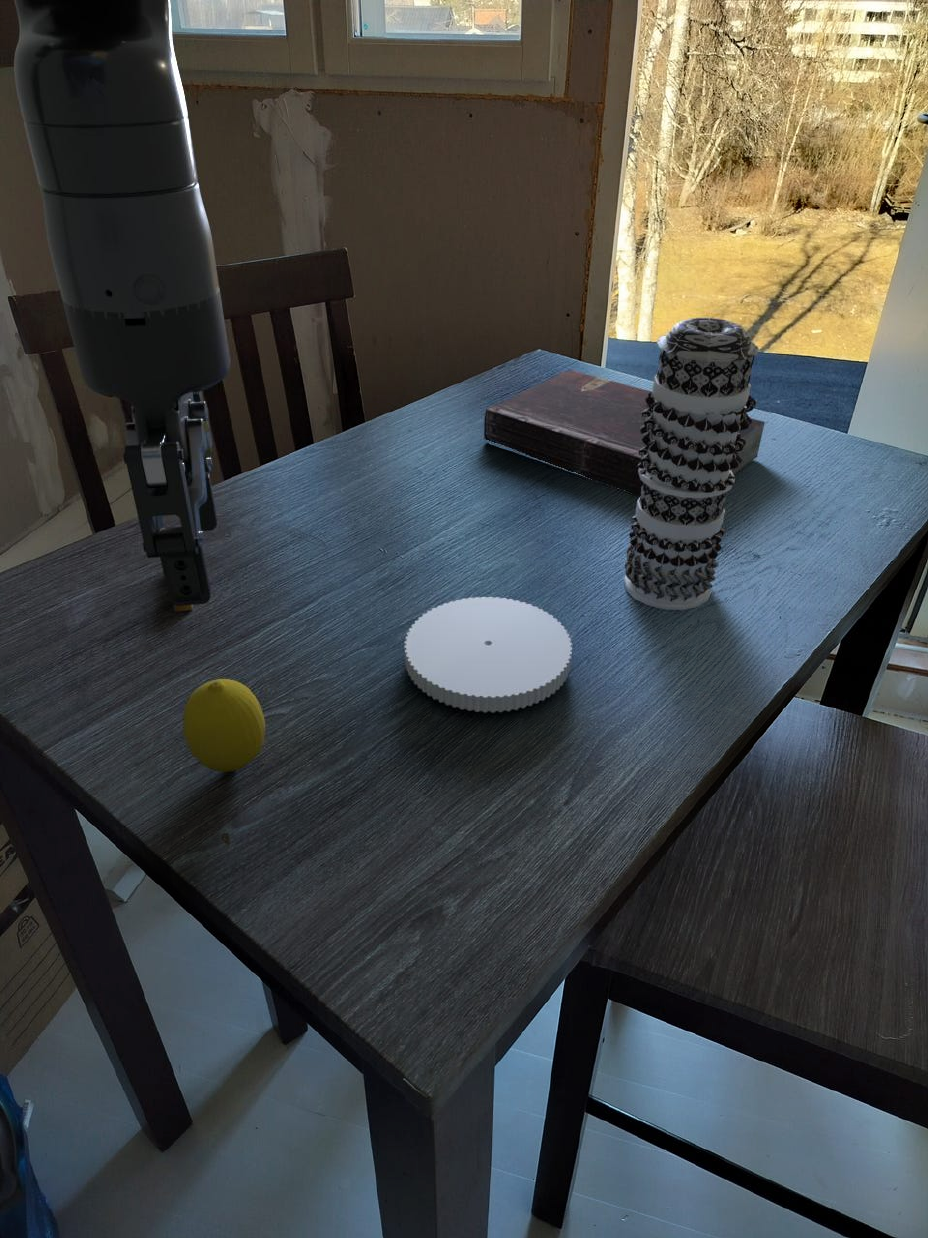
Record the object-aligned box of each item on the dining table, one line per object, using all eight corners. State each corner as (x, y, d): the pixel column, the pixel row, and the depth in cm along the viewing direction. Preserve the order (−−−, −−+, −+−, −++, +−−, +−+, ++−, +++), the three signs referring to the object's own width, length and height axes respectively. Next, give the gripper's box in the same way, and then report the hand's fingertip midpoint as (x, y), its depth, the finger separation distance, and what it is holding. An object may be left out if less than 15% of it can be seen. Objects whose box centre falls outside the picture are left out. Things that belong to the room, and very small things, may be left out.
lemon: (180, 787, 61) (158, 702, 56) (216, 735, 65) (198, 653, 61) (251, 801, 60) (234, 715, 55) (283, 747, 64) (270, 664, 60)
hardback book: (483, 443, 111) (484, 407, 108) (566, 403, 122) (569, 369, 119) (683, 513, 95) (691, 472, 92) (756, 459, 107) (764, 421, 104)
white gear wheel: (493, 602, 81) (494, 579, 79) (604, 672, 72) (607, 649, 70) (372, 660, 73) (371, 637, 72) (480, 747, 64) (480, 722, 63)
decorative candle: (716, 618, 78) (774, 348, 64) (615, 605, 80) (650, 338, 66) (716, 568, 86) (768, 314, 71) (623, 556, 87) (656, 306, 73)
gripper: (85, 255, 47) (145, 513, 57) (29, 330, 36) (115, 638, 45) (223, 251, 49) (260, 504, 58) (211, 323, 37) (259, 624, 47)
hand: (196, 563), depth 52 cm, fingers open, 8 cm apart
